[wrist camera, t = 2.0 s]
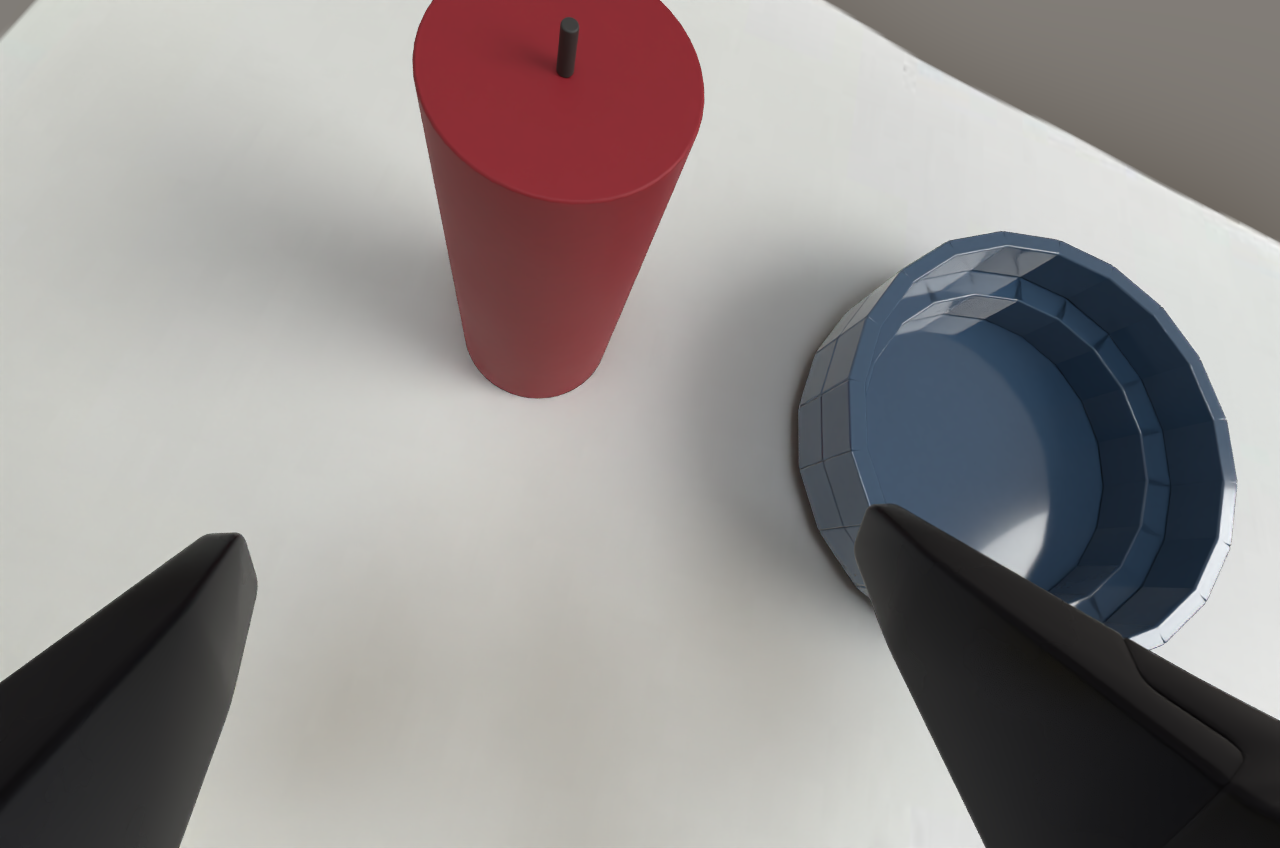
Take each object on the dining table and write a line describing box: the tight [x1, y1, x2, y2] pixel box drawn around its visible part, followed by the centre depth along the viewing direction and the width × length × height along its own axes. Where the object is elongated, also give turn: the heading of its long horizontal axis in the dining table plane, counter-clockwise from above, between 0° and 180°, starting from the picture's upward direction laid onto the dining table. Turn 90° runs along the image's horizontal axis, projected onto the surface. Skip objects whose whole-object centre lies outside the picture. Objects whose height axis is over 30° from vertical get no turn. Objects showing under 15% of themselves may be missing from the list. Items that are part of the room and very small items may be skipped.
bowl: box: [798, 231, 1237, 650], centre depth 23 cm, size 14×14×4 cm
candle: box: [413, 0, 704, 398], centre depth 17 cm, size 5×5×14 cm
